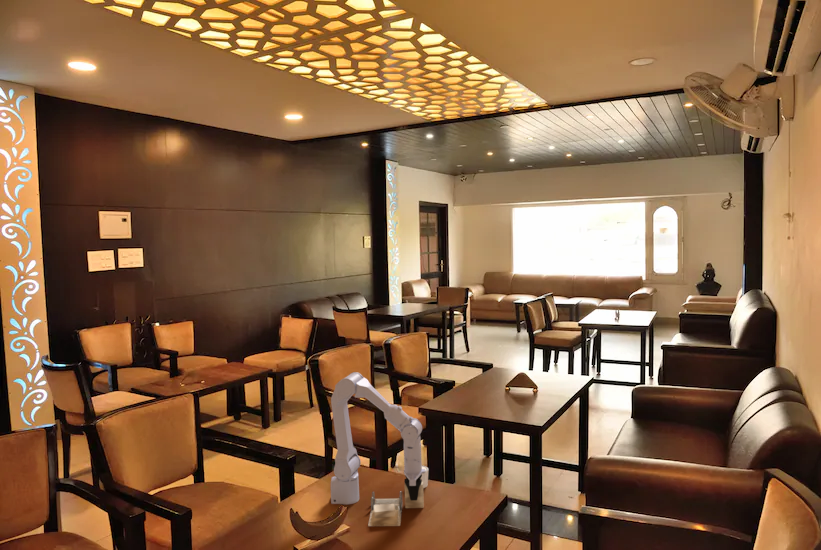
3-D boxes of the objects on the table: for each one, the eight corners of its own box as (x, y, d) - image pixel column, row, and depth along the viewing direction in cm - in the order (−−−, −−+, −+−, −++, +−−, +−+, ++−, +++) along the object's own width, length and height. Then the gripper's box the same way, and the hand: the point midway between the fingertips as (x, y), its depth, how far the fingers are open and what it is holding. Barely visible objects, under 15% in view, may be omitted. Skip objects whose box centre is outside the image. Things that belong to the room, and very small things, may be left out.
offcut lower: (371, 524, 172) (371, 518, 172) (372, 516, 177) (372, 510, 177) (397, 524, 171) (396, 517, 171) (398, 516, 176) (397, 509, 176)
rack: (367, 529, 171) (367, 513, 170) (373, 504, 187) (372, 490, 186) (400, 528, 170) (399, 513, 170) (402, 504, 186) (402, 489, 186)
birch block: (405, 510, 182) (404, 484, 181) (405, 506, 184) (404, 481, 184) (423, 509, 181) (422, 484, 181) (423, 506, 184) (422, 481, 183)
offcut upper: (375, 518, 171) (374, 512, 171) (373, 511, 176) (373, 505, 176) (395, 516, 172) (395, 510, 172) (394, 509, 177) (393, 503, 176)
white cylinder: (429, 483, 201) (429, 465, 201) (428, 492, 194) (427, 473, 194) (410, 483, 202) (410, 464, 202) (409, 492, 195) (408, 472, 195)
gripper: (424, 466, 174) (426, 508, 175) (424, 448, 189) (426, 487, 190) (402, 466, 175) (403, 508, 175) (404, 449, 189) (405, 487, 190)
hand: (414, 497), depth 183 cm, fingers closed on birch block, 3 cm apart
